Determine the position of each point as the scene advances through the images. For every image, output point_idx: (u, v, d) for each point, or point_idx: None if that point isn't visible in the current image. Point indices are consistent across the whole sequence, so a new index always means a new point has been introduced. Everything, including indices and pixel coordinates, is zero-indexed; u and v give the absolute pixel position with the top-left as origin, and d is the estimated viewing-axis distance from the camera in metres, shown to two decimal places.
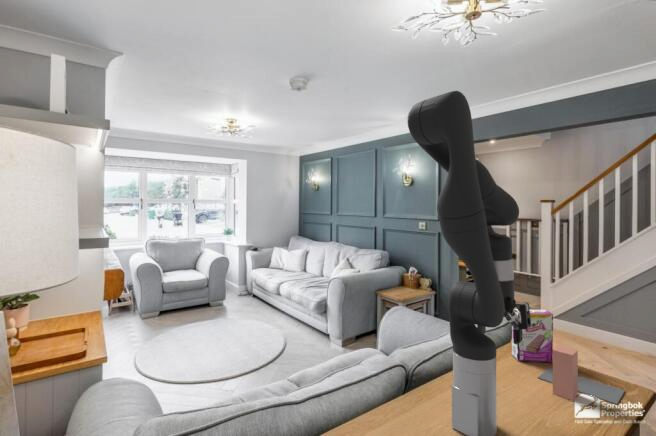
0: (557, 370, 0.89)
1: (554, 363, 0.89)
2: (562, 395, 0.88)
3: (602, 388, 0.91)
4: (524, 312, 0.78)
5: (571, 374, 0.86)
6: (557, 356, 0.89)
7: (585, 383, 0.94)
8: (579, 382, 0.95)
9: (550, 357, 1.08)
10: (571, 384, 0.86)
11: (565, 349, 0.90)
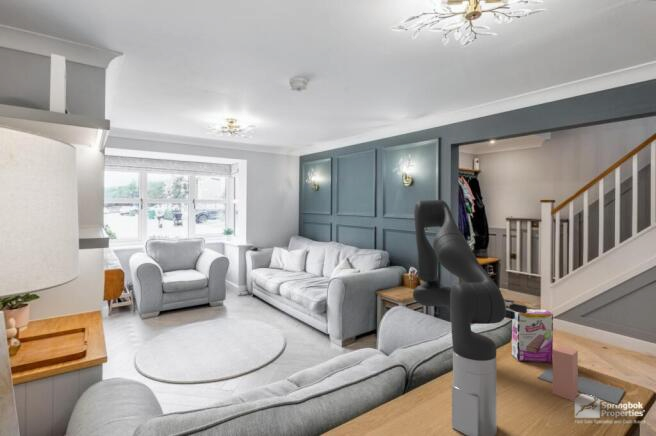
0: (557, 370, 0.89)
1: (554, 363, 0.89)
2: (562, 395, 0.88)
3: (602, 388, 0.91)
4: None
5: (571, 374, 0.86)
6: (557, 356, 0.89)
7: (585, 383, 0.94)
8: (579, 382, 0.95)
9: (550, 357, 1.08)
10: (571, 384, 0.86)
11: (565, 349, 0.90)
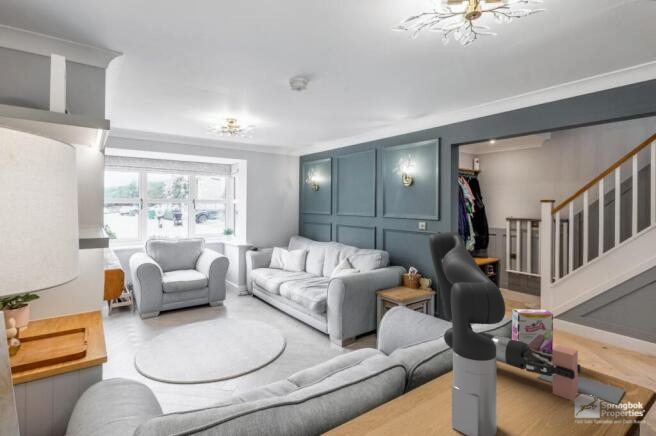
0: None
1: (554, 363, 0.89)
2: (562, 395, 0.88)
3: (602, 388, 0.91)
4: (549, 351, 0.97)
5: None
6: (557, 356, 0.89)
7: (585, 383, 0.94)
8: (579, 382, 0.95)
9: None
10: (571, 384, 0.86)
11: (565, 349, 0.90)
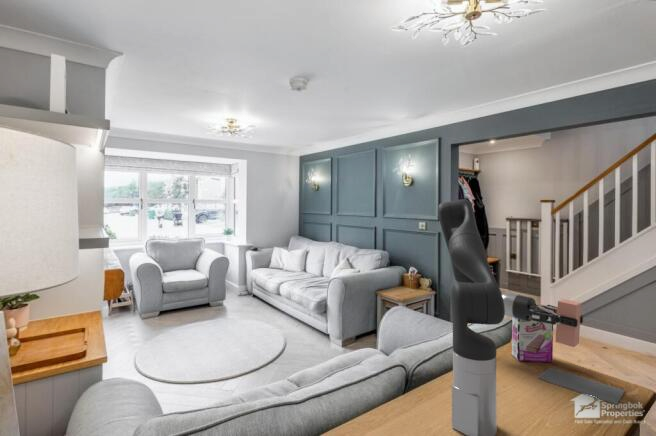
0: None
1: (558, 313, 0.96)
2: (564, 342, 0.95)
3: (602, 388, 0.91)
4: (553, 306, 1.04)
5: None
6: (562, 307, 0.95)
7: (585, 383, 0.94)
8: (579, 382, 0.95)
9: (550, 357, 1.08)
10: (573, 332, 0.93)
11: (569, 301, 0.96)
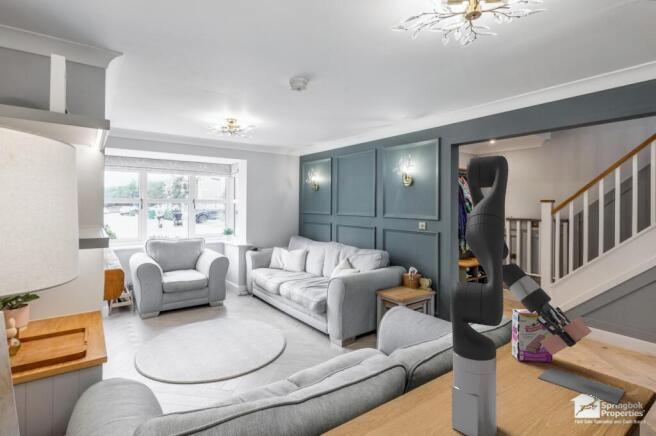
0: None
1: (564, 328, 0.95)
2: (546, 347, 0.98)
3: (602, 388, 0.91)
4: None
5: None
6: (572, 327, 0.93)
7: (585, 383, 0.94)
8: (579, 382, 0.95)
9: (550, 357, 1.08)
10: (563, 347, 0.95)
11: (583, 325, 0.94)
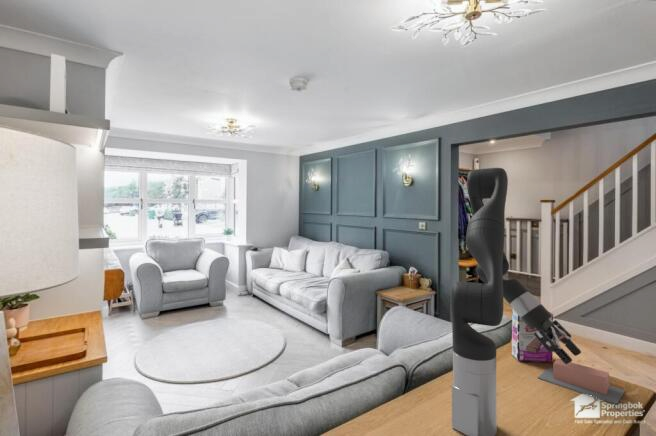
0: (581, 375, 0.92)
1: (589, 374, 0.91)
2: (555, 371, 0.97)
3: None
4: None
5: (582, 386, 0.92)
6: (598, 380, 0.89)
7: None
8: None
9: (550, 357, 1.08)
10: (570, 382, 0.94)
11: (607, 382, 0.90)
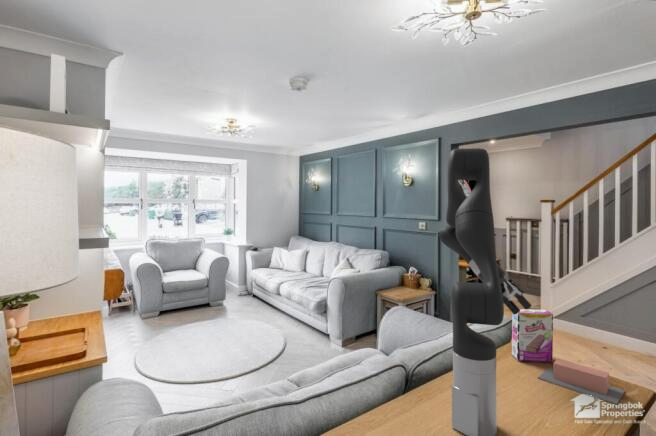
0: (581, 375, 0.92)
1: (589, 374, 0.91)
2: (555, 371, 0.97)
3: None
4: (514, 282, 1.10)
5: (582, 386, 0.92)
6: (598, 380, 0.89)
7: None
8: None
9: (550, 357, 1.08)
10: (570, 382, 0.94)
11: (607, 382, 0.90)
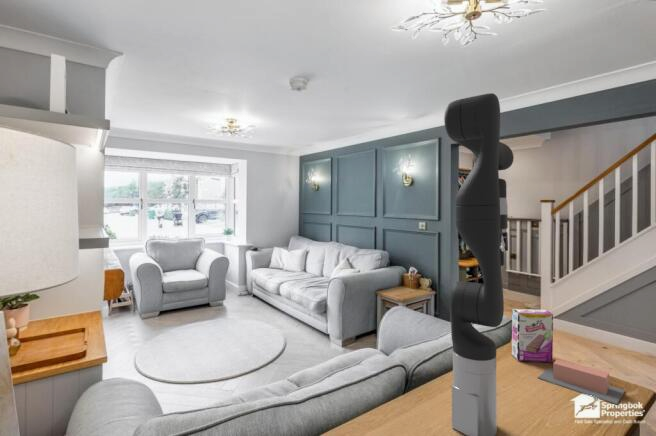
0: (581, 375, 0.92)
1: (589, 374, 0.91)
2: (555, 371, 0.97)
3: None
4: (507, 237, 1.03)
5: (582, 386, 0.92)
6: (598, 380, 0.89)
7: None
8: None
9: (550, 357, 1.08)
10: (570, 382, 0.94)
11: (607, 382, 0.90)
